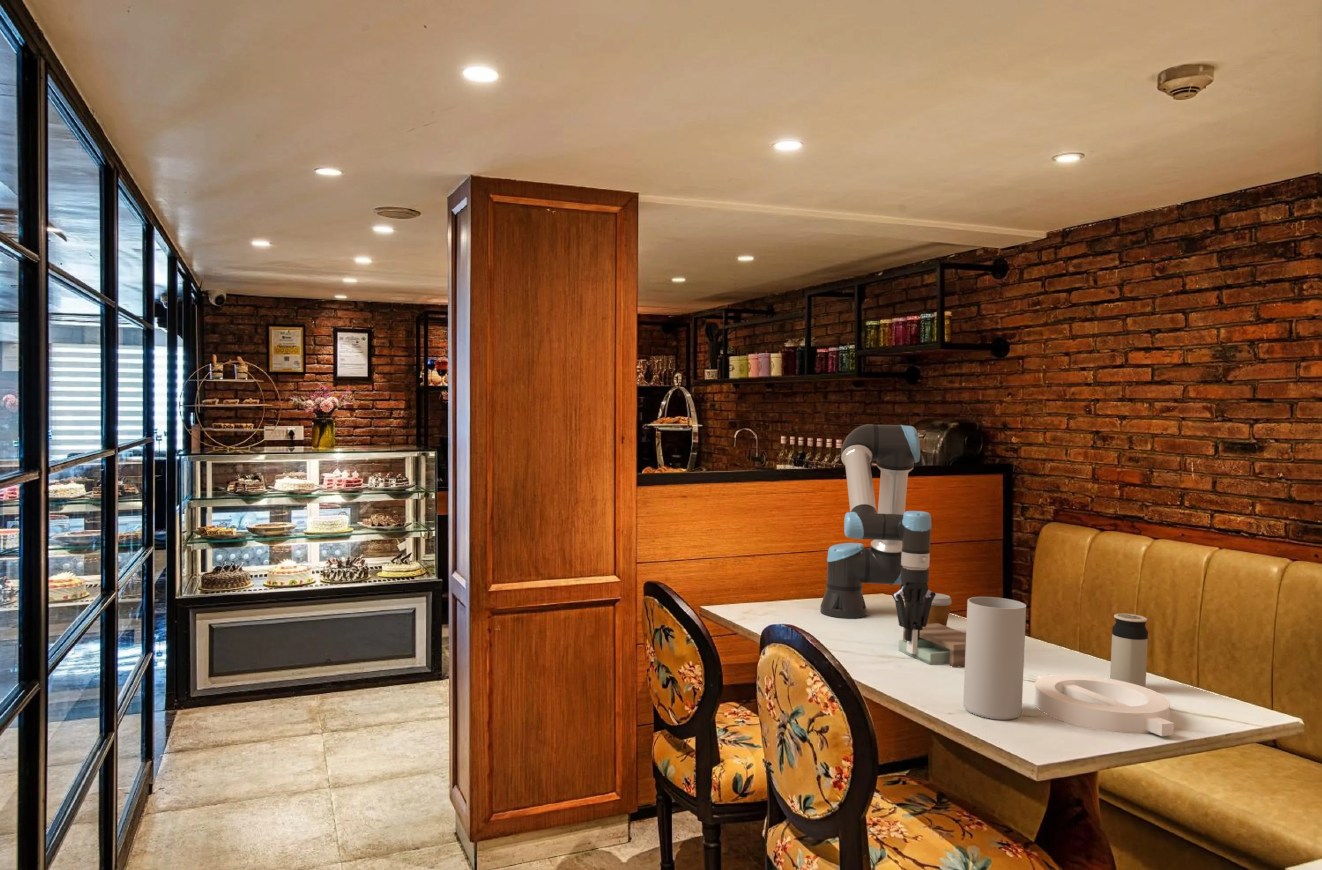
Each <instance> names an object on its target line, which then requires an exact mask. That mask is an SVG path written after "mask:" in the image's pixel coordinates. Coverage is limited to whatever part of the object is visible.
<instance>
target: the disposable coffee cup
mask: <svg viewBox="0 0 1322 870" xmlns="http://www.w3.org/2000/svg"><path fill="white" fill-rule="evenodd" d="M934 593H935V594H936V595H935V597H934V599H933V601H932V604H931V608H930V613H929V617H928V621H927V624H934V623H939V624H941V625H944V626H947V627H948V619H949V614H950V607H951V604H952V603H953V601H952V598H951V596H950V595H947V594H944V593H938V592H934Z"/></svg>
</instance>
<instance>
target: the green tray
mask: <svg viewBox="0 0 1322 870" xmlns="http://www.w3.org/2000/svg"><path fill="white" fill-rule="evenodd" d="M906 650H907V641H906V640H903V639H902V640H901V639H900V640H899V641H898V652H900V653H902V654H904V655H908V656H909V657H911V658H913V659H917V660H919V661H921V662H923V663H925V664H927V665H943V663H944V664H949V662H950V649H948V648H946V647H943V646H941V645H938V644H936V643H933V642H931V641H928V640H926V639H919V641H917V654H911V653H909V652H907V651H906Z"/></svg>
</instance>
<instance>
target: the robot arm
mask: <svg viewBox="0 0 1322 870" xmlns="http://www.w3.org/2000/svg"><path fill="white" fill-rule="evenodd" d="M920 445H921V444H920V438H919V434H918V432H917V429H916V428H915V427H914V426H912V425H903V424H870V423H867V424H863V425H860V426H857V427H856V428H855V429H853V430H851V432H850V433H849V434H848V435H846V437H845V439H844V441H843V443H842V446H841V448H840V449H841V450H840V459H841V462H842V464H843V465H844V466H845V475H846V484H847V493H848V502H849V503H848V504H849V512H848V511H847V512H846V513H845V515H844V520H843V523H844V524H843V525H844V526H843V528H844V529H843V531H844V535H845V537H846V538H848V539H857V540H872V541H870V547H865V546H864V544H863V543H860V542H844V543H843V542H842V543H837V544H833V545H831V546H830V547H829V548H828V551H827V558H826V561H827V565H826V566H827V567H826V569H827V570H826V588H825V592H824V595H823V597H822V601H821V603H820V613H821V614H823V615H824V616H829V617H832V618H840V619H841V618H842V619H859V618H864V617H866V616H867V609H868V608H867V605H866V603H865V602H866V601H865V599H864V598H865V597H864V595H863V594H864V593H863V584H871V585H872V584H875V585H876V584H877V585H878V584H879V585H890V586H894V585H900V586H899V590H898V591H897V592H892V594H891V595H892V598H893V599H894V603H895V609H896V613H897V619H898V626H899V627H902V628H903V629H904V628H905V640H906V641H907V650H906V651H907V652H909V653H911V654H917V641H919V637H920V630H922V629H923V628H922V627H926V625H927V621H928V617H929V613H930V608H931V604H932V601H933V599H934V597H935V595H936V594H935V593H936V592H934V591H931V590H930V589H929V585H928V583H929V580H930V579H929V578H930V570H929V567H930V555H931V551H930V550H931V536H932V535H931V533H932V526H933V525H932V515H931V514H930V513H929V512H926V511H922V510H907V511H906V503H907V502H906V501H907V493H908V492H907V490H908V489H907V488H908V477H909V473H910V472H912V470H914V465H915V464H917V463H918V462H920V460H921V447H920ZM872 461H873V462H875V461H876V466H877V468H878V469H879V470H880V479H879V489H878V491H879V492H878V493H879V495H878V503H877V505H876V497H875V490H874V483H873V475H872V469H871V462H872ZM914 463H915V464H914Z"/></svg>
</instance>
